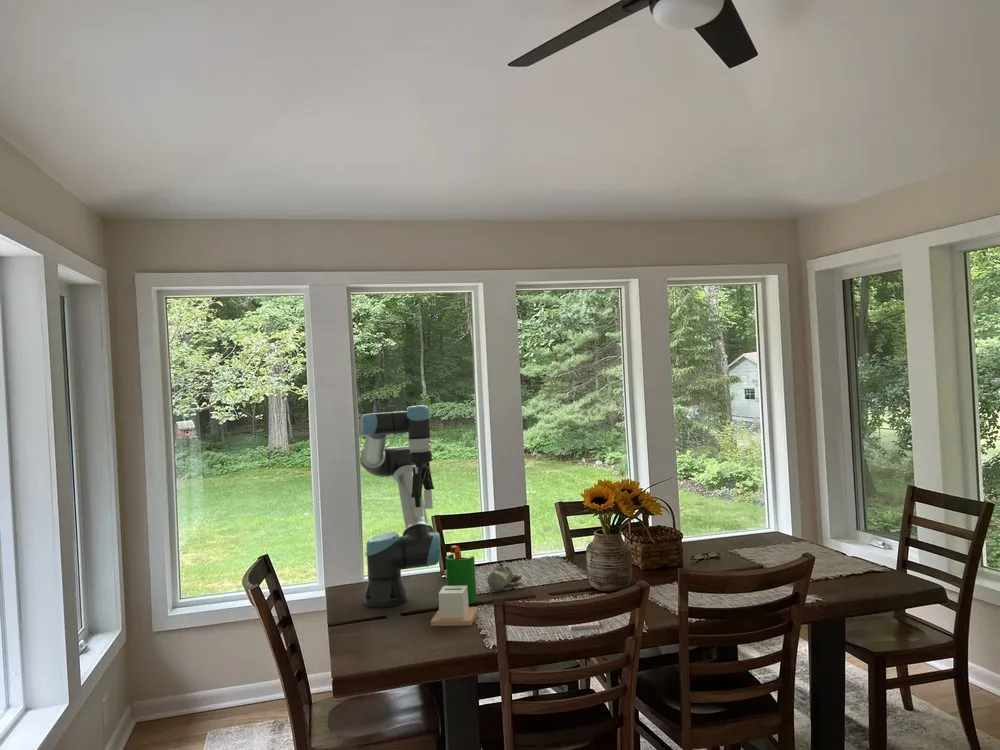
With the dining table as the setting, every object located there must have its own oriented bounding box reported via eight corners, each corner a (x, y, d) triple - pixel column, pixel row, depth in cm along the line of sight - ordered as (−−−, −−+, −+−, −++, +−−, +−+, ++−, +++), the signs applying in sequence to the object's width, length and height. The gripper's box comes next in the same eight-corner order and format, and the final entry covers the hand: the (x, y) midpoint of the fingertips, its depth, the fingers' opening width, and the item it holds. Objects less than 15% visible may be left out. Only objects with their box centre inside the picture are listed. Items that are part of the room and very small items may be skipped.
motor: (479, 598, 252) (476, 541, 252) (470, 606, 244) (467, 548, 244) (453, 596, 256) (450, 541, 255) (443, 605, 247) (439, 547, 247)
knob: (439, 618, 229) (438, 592, 229) (445, 609, 237) (443, 585, 237) (464, 618, 228) (462, 592, 228) (468, 609, 236) (467, 584, 236)
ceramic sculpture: (479, 566, 261) (497, 558, 274) (480, 590, 261) (498, 581, 274) (506, 568, 256) (523, 560, 270) (506, 593, 256) (523, 583, 269)
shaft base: (430, 625, 227) (429, 605, 227) (439, 611, 240) (438, 592, 240) (471, 625, 225) (469, 604, 225) (478, 611, 238) (476, 591, 238)
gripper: (422, 454, 232) (426, 519, 232) (439, 446, 257) (442, 505, 257) (399, 455, 233) (403, 520, 233) (418, 447, 258) (422, 505, 258)
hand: (424, 512), depth 245 cm, fingers open, 13 cm apart
